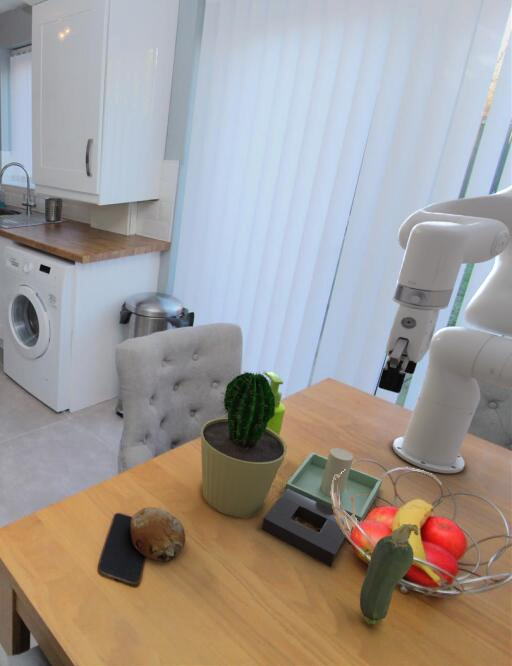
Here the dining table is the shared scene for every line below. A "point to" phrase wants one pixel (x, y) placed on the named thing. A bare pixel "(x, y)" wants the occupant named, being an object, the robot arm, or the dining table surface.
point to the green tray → (358, 483)
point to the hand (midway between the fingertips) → (396, 380)
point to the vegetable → (386, 572)
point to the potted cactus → (241, 448)
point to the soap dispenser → (280, 407)
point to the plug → (336, 470)
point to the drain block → (300, 536)
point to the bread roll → (157, 534)
